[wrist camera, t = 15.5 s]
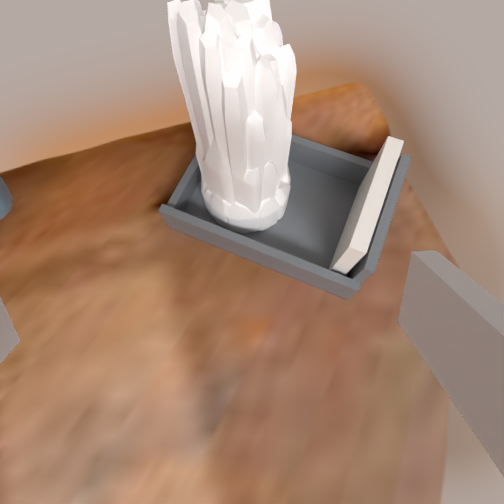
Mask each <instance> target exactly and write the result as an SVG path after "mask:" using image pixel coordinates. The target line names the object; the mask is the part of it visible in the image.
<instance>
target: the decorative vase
mask: <svg viewBox="0 0 504 504" xmlns="http://www.w3.org/2000/svg"><path fill="white" fill-rule="evenodd" d="M214 3H215V4H214ZM214 3H208V6H207V10H205V11H202V8H201V5H200V2H199V1H198V0H190V1H180V0H174V1H171V2H168V3H167V15H168V22H169V30H170V37H171V44H172V51H173V57H174V61H175V65H176V69H177V72H178V76H179V79H180V84H181V87H182V91H183V95H184V98H185V102H186V106H187V109H188V113H189V117H190V121H191V124H192V128H193V132H194V136H195V139H196V157H197V161H198V164H199V168H200V171H201V193H202V196H203V199H204V202H205V205H206V207H207V210H208V212H209V214H210V215H211V216H212V218H213V219H214V220H215V221H216V222H217V223H219V224H220V225H221V226H223V227H224V228H225V229H230V231H232V232H239V233H250V232H257V231H263V230H265V229H267V228H269V227H271V226H272V225H274V224H276V223H277V220H279V219H281V218H282V216H283V215H284V212H285V209H286V206H287V203H288V198H289V193H290V187H291V185H290V180H291V177H290V173H289V168H288V157H289V151H290V144H291V138H292V123H291V121H290V118H291V110H292V103H293V96H294V88H295V79H296V73H297V71H296V62H295V55H294V52H293V50H292V48H291V46H290V44H287V45H284V46H283V39H282V32H281V29H280V27H279V25H278V23H276V22H274V21H272V16H271V8H270V0H215V2H214Z"/></svg>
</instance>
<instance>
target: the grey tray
mask: <svg viewBox="0 0 504 504" xmlns="http://www.w3.org/2000/svg"><path fill="white" fill-rule="evenodd" d="M410 160H411V156H408V155H405V154H402V155H401V156H400V158H399V159H398V161H397V163H396V166H395V169H394V172H393V175H392V178H391V181H390V184H389V187H388V190H387V193H386V196H385V199H384V202H383V205H382V208H381V211H380V214H379V217H378V220H377V223H376V226H375V229H374V232H373V235H372V238H371V241H370V244H369V247H368V250H367V253H366V254H365V255H364V256H363V257H362V258H361V259H360V260H359V261H358V262H357V263H356V264H355V265H354V266H353V267H352V268H351V269H350V271H349V272H348V273H347V274H346V275H345V276H343V275H341V274H338V273H336V272H333V271H331V270H329V267H330V264H331V262H332V259H333V256H334V254H335V251H336V248H337V245H338V243H339V240H340V237H341V235H342V232H343V229H344V226H345V224H346V221H347V218H348V216H349V213H350V210H351V207H352V205H353V202H354V199H355V197H356V194H357V191H358V188H359V186H360V185H361V183H362V181H363V179H364V178H365V176H366V174H367V172H368V171H369V169H370V167H371V165H372V164H373V162H372V161H369V160H366V159H363V158H360V157H357V156H355V155H352V154H349V153H346V152H343V151H340V150H337V149H334V148H331V147H328V146H325V145H322V144H319V143H316V142H313V141H310V140H308V139H305V138H302V137H299V136H296V135H293V134H292V138H291V144H290V151H289V157H288V168H289V173H290V177H291V180H290V185H291V187H290V193H289V198H288V203H287V206H286V209H285V212H284V215H283V216H282V218H281V219H279V220H277V223H276V224H274V225H272V226H271V227H269V228H267V229H265V230H263V231H257V232H250V233H239V232H232V231H230V229H225V228H224V227H223V226H221V225H220V224H219V223H217V222H216V221H215V220H214V219H213V218H212V216H211V215H210V214H209V212H208V210H207V207H206V205H205V202H204V199H203V196H202V193H201V171H200V168H199V164H198V161H197V157H196V154H195V156H194V158H193V159H192V161H191V163H190V165H189V166H188V168H187V170H186V172H185V173H184V175H183V177H182V178H181V180H180V182H179V184H178V185H177V187H176V189H175V191H174V192H173V194H172V196H171V198H170V199H169V201H168V203H167V205H164V204H162V205H161V207H160V209H159V210H158V211H159V213H160V214H161V216H162V218H163V219H164V221H165V222H166V224H167V225H168V227H169V228H171V229H174V230H176V231H179V232H181V233H184V234H186V235H188V236H191V237H193V238H196V239H198V240H201V241H203V242H206V243H208V244H210V245H213V246H215V247H218V248H220V249H223V250H225V251H228V252H230V253H233V254H235V255H237V256H240V257H242V258H245V259H247V260H250V261H252V262H255V263H257V264H260V265H262V266H264V267H267V268H269V269H272V270H274V271H277V272H279V273H282V274H284V275H286V276H289V277H291V278H294V279H296V280H299V281H301V282H304V283H306V284H309V285H311V286H313V287H316V288H318V289H321V290H323V291H326V292H328V293H331V294H333V295H336V296H338V297H340V298H343V299H345V300H347V299H349V298H350V297H352V296H353V295H354V294H356V293H357V292H358V291H359V289H360V286H361V283H362V282H363V281H364V280H366V279H367V278H368V277H369V276H371V275H372V274H373V273H374V272H375V269H376V266H377V263H378V260H379V257H380V254H381V251H382V247H383V244H384V241H385V238H386V235H387V232H388V229H389V226H390V222H391V219H392V216H393V213H394V210H395V207H396V204H397V200H398V197H399V194H400V191H401V188H402V185H403V182H404V179H405V175H406V172H407V169H408V166H409V163H410Z"/></svg>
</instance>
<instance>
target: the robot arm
mask: <svg viewBox="0 0 504 504" xmlns="http://www.w3.org/2000/svg"><path fill="white" fill-rule="evenodd" d="M12 204H13V200H12V195H11V193H10V191H9V188H8V187H7V185H6V183H5V182H4V180H3V179H2V177H1V176H0V220H1V219H2V218H4V217H5V216H6V215H7V214H8V213H9V212H10V210H11V208H12ZM398 323H399V325H400V326H401V328H402V329H403V330H404V332H405V333H406V335H407V336H408V338H409V339H410V341H411V342H412V344H413V345H414V347H415V348H416V349H417V351H418V352H419V354H420V355H421V357H422V358H423V360H424V361H425V363H426V364H427V365H428V367H429V368H430V370H431V371H432V373H433V374H434V376H435V377H436V379H437V380H438V381H439V383H440V384H441V386H442V387H443V389H444V390H445V392H446V393H447V395H448V396H449V397H450V399H451V400H452V402H453V403H454V405H455V406H456V408H457V409H458V411H459V412H460V413H461V415H462V416H463V418H464V419H465V421H466V422H467V424H468V425H469V427H470V428H471V429H472V431H473V432H474V434H475V435H476V437H477V438H478V440H479V441H480V443H481V444H482V445H483V447H484V448H485V450H486V451H487V453H488V454H489V456H490V457H491V459H492V460H493V461H494V463H495V464H496V466H497V467H498V469H499V470H500V472H501V473H502V474H503V476H504V304H502V303H501V302H500V301H499V300H497V299H496V298H495V297H494V296H492V295H491V294H490V293H489V292H487V291H486V290H485V289H484V288H483V287H481V286H480V285H479V284H477V283H476V282H475V281H474V280H473V279H471V278H470V277H469V276H467V275H466V274H465V273H464V272H463V271H461V270H460V269H459V268H458V267H456V266H455V265H454V264H453V263H451V262H450V261H449V260H448V259H446V258H445V257H444V256H443V255H441V254H440V253H439V252H438V251H436V250H434V251H412V254H411V259H410V264H409V269H408V274H407V279H406V284H405V289H404V294H403V299H402V304H401V309H400V314H399V319H398ZM19 342H20V339H19V337H18V334H17V332H16V330H15V328H14V326H13V323H12V321H11V319H10V317H9V315H8V312H7V310H6V308H5V306H4V303H3V301H2V299H1V297H0V363H1V362H2V361H3V360H4V359H5V358H6V357H7V355H8V354H9V353H10V352H11V351H12V350H13V349H14V348H15V347H16V345H17V344H18V343H19Z"/></svg>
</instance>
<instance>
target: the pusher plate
mask: <svg viewBox="0 0 504 504" xmlns="http://www.w3.org/2000/svg"><path fill="white" fill-rule="evenodd" d="M403 142H404V141H402V140H399V139H396V138H393V137H390V136H388V138H387V139H386V141H385V143H384V145H383V146H382V148H381V150H380V152H379V153H378V155H377V157H376V158H375V160H374V162H373V164H372V165H371V167H370V169H369V171H368V172H367V174H366V176H365V178H364V179H363V181H362V183H361V185H360V186H359V188H358V191H357V194H356V197H355V199H354V202H353V205H352V207H351V210H350V213H349V216H348V218H347V221H346V224H345V226H344V229H343V232H342V235H341V237H340V240H339V243H338V245H337V248H336V251H335V254H334V256H333V259H332V262H331V264H330V267H329V270H331V271H333V272H336V273H338V274H341V275H343V276H345V275H346V274H347V273H348V272H349V271H350V269H351V268H352V267H353V266H354V265H355V264H356V263H357V262H358V261H359V260H360V259H361V258H362V257H363V256H364V255H365V254H366V253H367V250H368V247H369V244H370V241H371V238H372V235H373V232H374V229H375V226H376V223H377V220H378V217H379V214H380V211H381V208H382V205H383V202H384V199H385V196H386V193H387V190H388V187H389V184H390V181H391V178H392V175H393V172H394V169H395V166H396V163H397V160H398V157H399V154H400V151H401V148H402V145H403Z"/></svg>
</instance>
